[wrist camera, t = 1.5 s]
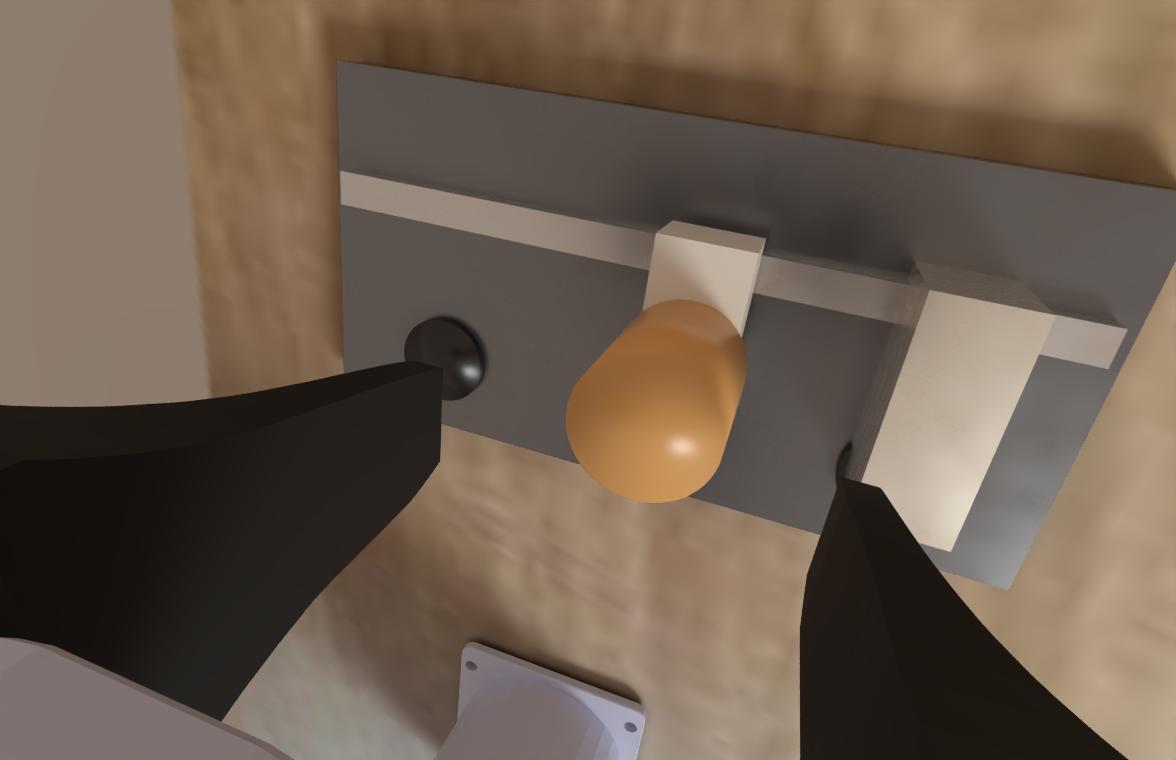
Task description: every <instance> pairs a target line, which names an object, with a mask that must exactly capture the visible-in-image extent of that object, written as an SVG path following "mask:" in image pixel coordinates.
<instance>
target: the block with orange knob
mask: <svg viewBox="0 0 1176 760" xmlns="http://www.w3.org/2000/svg"><path fill="white" fill-rule="evenodd" d="M765 241H766V238H761V237H756V236H751V235H745V234H740V233H735V232H730V231H725V230H720V229H715V228H710V227H704V226H699V225H694V224H689V223H684V222H679V221H674V220H673V221H671V222H670V223H669V224H667V225H666V226H665V227H663V228H662V229H661V230H659V231H658V232H657V233H656V236H655V242H654V247H653V253H652V259H651V265H650V271H649V276H648V282H647V288H646V294H645V299H644V305H643V311H642V312H641V313H640V314H639V315H638V316H637V317H636V318H635V319H634V320H633V321H632V322H631V323H630V324H629V325H628V326H627V327H626V328H625V330H624V331H623V332H622V333H621V334H620V335H619V336H618V337H617V338H616V339H615V341H614V342H613V343H612V344H611V345H610V346H609V347H608V348H607V349H606V350H605V352H604V353H603V354H602V355H601V356H600V357H599V358H598V359H597V360H596V362H595V363H594V364H593V365H592V366H591V367H590V368H589V369H588V370H587V371H586V373H585V374H584V375H583V376H582V377H581V378H580V380H579V381H578V382H577V384H576V385H575V387H574V389H573V390H572V392H571V395H570V397H569V400H568V404H567V409H566V431H567V435H568V440H569V442H570V445H571V448H572V450H573V452H574V454H575V456H576V458H577V459H578V461H579V463H580V464H581V465H582V467H583V468H584V469H585V470H586V472H587V473H588V474H589V475H590V476H591V477H592V478H593V479H594V480H596V481H597V482H598V483H599V484H601V485H602V486H603V487H605V488H607V489H608V490H610V491H611V492H614V493H616V494H618V495H620V496H622V497H625V498H628V499H631V500H635V501H639V502H647V503H663V502H671V501H675V500H679V499H681V498H684V497H687V496H689V495H691V494H692V493H694V492H696V491H697V490H699V489H700V488H701V487H703V486H704V485H705V484H706V483H707V482H708V481H709V480H710V479H711V477H712V476H713V475H714V473H715V472H716V470H717V468H718V466H719V464H720V462H721V459H722V456H723V453H724V449H725V446H726V443H727V440H728V436H729V433H730V430H731V426H732V423H733V420H734V417H735V413H736V410H737V407H738V404H739V400H740V397H741V394H742V391H743V387H744V384H745V381H746V377H747V371H748V358H747V352H746V348H745V344H744V342H743V340H742V336H743V331H744V327H745V323H746V319H747V315H748V311H749V307H750V303H751V299H752V294H753V290H754V286H755V282H756V278H757V274H758V270H759V266H760V261H761V257H762V253H763V249H764V245H765Z"/></svg>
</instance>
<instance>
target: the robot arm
mask: <svg viewBox="0 0 1176 760" xmlns="http://www.w3.org/2000/svg"><path fill="white" fill-rule="evenodd" d="M442 386H443V368H440V367H436V366H432V365H429V364H425V363H421V362H418V361H405V362H397V363H392V364H386V365H381V366H376V367H372V368H367V369H362V370H358V371H354V372H349V373H345V374H340V375H336V376H332V377H327V378H323V379H318V380H314V381H309V382H304V383H299V384H294V385H289V386H284V387H279V388H274V389H269V390H264V391H258V392H253V393H247V394H241V395H234V396H227V397H220V398H212V399H204V400H195V401H186V402H176V403H161V404H160V403H159V404H143V405H127V406H108V407H107V406H106V407H33V406H7V405H0V760H294V759H293V758H291V757H289V756H288V755H286V754H285V753H283V752H282V751H280V750H279V749H277V748H276V747H274V746H273V745H271V744H269V743H267V742H265V741H262V740H260V739H258V738H256V737H254V736H251V735H249V734H247V733H245V732H243V731H240V730H238V729H236V728H234V727H232V726H229V725H227V724H225V723H223V722H221V721H222V720H223V718H224V717H225V716H226V714H227V713H228V711H229V710H230V708H231V707H232V706H233V704H234V703H235V701H236V700H237V699H238V697H239V696H240V694H241V693H242V692H243V690H244V689H245V688H246V686H247V685H248V684H249V682H250V681H251V680H252V678H253V677H254V676H255V674H256V673H257V672H258V670H259V669H260V668H261V666H262V665H263V664H264V662H265V661H266V660H267V658H268V657H269V656H270V655H271V653H272V652H273V651H274V649H275V648H276V647H277V645H278V644H279V643H280V641H281V640H282V639H283V638H284V636H285V635H286V634H287V633H288V631H289V630H290V629H291V628H292V627H293V625H294V624H295V623H296V622H297V620H298V619H299V618H300V617H301V615H302V614H303V613H304V612H305V610H306V609H307V608H308V607H309V605H310V604H311V603H312V602H313V601H314V599H315V598H316V597H317V596H318V595H319V594H320V593H321V592H322V591H323V590H324V588H325V587H326V586H327V585H328V584H329V583H330V582H331V581H332V580H333V579H334V578H335V577H336V576H337V575H338V574H339V573H340V572H341V571H342V570H343V569H344V568H345V567H346V566H347V565H348V564H349V563H350V562H351V561H352V560H353V559H354V558H355V557H356V556H357V555H358V554H359V553H360V552H361V551H362V550H363V549H364V548H365V547H366V546H367V545H368V544H369V543H370V542H371V541H372V540H373V539H374V538H375V537H376V536H377V535H378V534H379V533H380V532H381V531H382V530H383V529H384V528H385V527H386V526H387V525H388V524H389V523H390V522H391V521H392V520H393V519H394V518H395V517H396V516H397V515H398V514H399V513H400V512H401V511H402V510H403V509H404V508H405V507H406V506H407V504H408V503H409V502H410V501H411V500H412V499H413V498H414V496H415V495H416V494H417V492H418V491H419V490H420V489H421V487H422V486H423V485H424V483H425V482H426V480H427V479H428V478H429V476H430V475H431V473H432V472H433V471H434V469H435V468H436V466H437V465H438V463H439V462H440V448H441V417H442ZM646 717H647V712H646V710H645V708H644V707H642V706H641V705H640V704H638V703H636V702H634V701H631V700H628V699H626V698H623V697H620V696H618V695H615V694H612V693H610V692H607V691H604V690H602V689H599V688H596V687H594V686H591V685H588V684H586V683H583V682H580V681H578V680H575V679H572V678H570V677H567V676H564V675H562V674H559V673H556V672H554V671H551V670H548V669H546V668H543V667H540V666H538V665H535V664H532V663H530V662H527V661H524V660H522V659H519V658H516V657H514V656H511V655H508V654H506V653H503V652H500V651H498V650H495V649H492V648H490V647H487V646H484V645H482V644H479V643H476V642H469V643H468V644H466V646H465V647H464V649H463V651H462V657H461V672H460V686H459V701H458V715H457V722H456V724H455V725H454V727H453V729H452V730H451V732H450V734H449V735H448V737H447V739H446V740H445V742H444V744H443V745H442V747H441V749H440V750H439V752H438V754H437V755H436V757H435V759H434V760H636V759H637V755H638V751H639V747H640V742H641V738H642V734H643V730H644V726H645V722H646ZM631 723H633V724H631ZM800 760H1128V759H1127V758H1126V757H1124V756H1123V755H1122V754H1121V753H1119V752H1118V751H1117V750H1116V749H1115V748H1113V747H1112V746H1111V745H1110V744H1108V743H1107V742H1106V741H1105V740H1104V739H1102V738H1101V737H1100V736H1099V735H1098V734H1096V733H1095V732H1094V731H1093V730H1092V729H1091V728H1090V727H1088V726H1087V725H1086V724H1085V723H1084V722H1083V721H1082V720H1081V719H1079V718H1078V717H1077V716H1076V715H1075V714H1074V713H1073V712H1071V711H1070V710H1069V709H1068V708H1067V707H1066V706H1065V705H1063V704H1062V703H1061V702H1060V701H1059V700H1058V699H1057V698H1056V697H1054V696H1053V695H1052V694H1051V693H1050V692H1049V691H1048V690H1047V689H1046V688H1045V687H1044V686H1043V685H1042V684H1041V683H1040V682H1038V681H1037V680H1036V679H1035V678H1034V677H1033V676H1032V675H1031V674H1030V673H1029V672H1028V671H1027V670H1026V669H1025V668H1024V667H1023V666H1022V665H1021V664H1020V663H1019V662H1018V661H1017V660H1016V659H1015V658H1014V657H1013V656H1012V655H1011V654H1010V653H1009V652H1008V650H1007V649H1006V648H1005V647H1004V646H1003V645H1002V644H1001V643H1000V642H999V641H998V640H997V639H996V638H995V637H994V636H993V635H992V634H991V633H990V632H989V631H988V629H987V628H986V627H985V626H984V625H983V624H982V623H981V622H980V621H979V619H978V618H977V617H976V616H975V615H974V614H973V612H972V611H971V610H970V609H969V608H968V606H967V605H966V604H965V603H964V602H963V600H962V599H961V598H960V597H959V596H958V594H957V593H956V592H955V591H954V590H953V588H952V587H951V586H950V585H949V583H948V582H947V581H946V579H945V578H944V577H943V576H942V574H941V573H940V572H939V570H938V569H937V568H936V566H935V565H934V564H933V562H932V561H931V560H930V558H929V557H928V556H927V554H926V553H925V551H924V550H923V549H922V547H921V546H920V544H919V543H918V542H917V540H916V539H915V537H914V536H913V534H912V533H911V531H910V530H909V529H908V527H907V526H906V524H905V523H904V521H903V520H902V518H901V517H900V515H899V514H898V512H897V511H896V509H895V508H894V506H893V505H892V503H891V502H890V500H889V499H888V497H887V496H886V494H885V493H884V492H883V490H882V489H881V488H880V487H877V486H873V485H869V484H866V483H862V482H858V481H855V480H851V479H847V478H844V477H840V480H839V483H838V486H837V489H836V492H835V495H834V498H833V501H832V504H831V507H830V509H829V512H828V515H827V518H826V521H825V524H824V527H823V530H822V533H821V536H820V539H819V541H818V544H817V547H816V550H815V553H814V556H813V559H812V562H811V565H810V568H809V571H808V573H807V578H806V586H805V593H804V600H803V608H802V616H801V624H800Z"/></svg>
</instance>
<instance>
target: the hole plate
mask: <svg viewBox="0 0 1176 760" xmlns="http://www.w3.org/2000/svg"><path fill="white" fill-rule="evenodd" d="M336 72H337V113H338V153H339V194H340V234H341V275H342V316H343V356H344V374H345V373H349V372H354V371H358V370H362V369H367V368H372V367H376V366H381V365H386V364H392V363H397V362H405V361H418V362H421V363H425V364H429V365H432V366H436V367H440V368H443V386H442V417H441V424H444V425H448V426H451V427H454V428H458V429H461V430H465V431H468V432H471V433H475V434H478V435H482V436H485V437H488V438H492V439H495V440H499V441H502V442H505V443H509V444H512V445H516V446H519V447H522V448H526V449H529V450H533V451H536V452H540V453H543V454H546V455H550V456H553V457H557V458H560V459H563V460H567V461H570V462H574V463H577V464H580V463H579V461H578V459H577V458H576V456H575V454H574V452H573V450H572V448H571V445H570V442H569V440H568V435H567V431H566V409H567V404H568V400H569V397H570V395H571V392H572V390H573V389H574V387H575V385H576V384H577V382H578V381H579V380H580V378H581V377H582V376H583V375H584V374H585V373H586V371H587V370H588V369H589V368H590V367H591V366H592V365H593V364H594V363H595V362H596V360H597V359H598V358H599V357H600V356H601V355H602V354H603V353H604V352H605V350H606V349H607V348H608V347H609V346H610V345H611V344H612V343H613V342H614V341H615V339H616V338H617V337H618V336H619V335H620V334H621V333H622V332H623V331H624V330H625V328H626V327H627V326H628V325H629V324H630V323H631V322H632V321H633V320H634V319H635V318H636V317H637V316H638V315H639V314H640V313H641V312H642V311H643V305H644V299H645V294H646V288H647V282H648V276H649V271H650V265H651V259H652V253H653V247H654V242H655V236H656V233H657V232H658V231H659V230H661V229H662V228H663V227H665V226H666V225H667V224H669V223H670V222H671V221H673V220H674V221H679V222H684V223H689V224H694V225H699V226H704V227H710V228H715V229H720V230H725V231H730V232H735V233H740V234H745V235H751V236H756V237H761V238H766V241H765V245H764V249H763V253H762V257H761V261H760V266H759V270H758V274H757V278H756V282H755V286H754V290H753V294H752V299H751V303H750V307H749V311H748V315H747V319H746V323H745V327H744V331H743V336H742V340H743V342H744V344H745V348H746V352H747V358H748V371H747V377H746V381H745V384H744V387H743V391H742V394H741V397H740V400H739V404H738V407H737V410H736V413H735V417H734V420H733V423H732V426H731V430H730V433H729V436H728V440H727V443H726V446H725V449H724V453H723V456H722V459H721V462H720V464H719V466H718V468H717V470H716V472H715V473H714V475H713V476H712V477H711V479H710V480H709V481H708V482H707V483H706V484H705V485H704V486H703V487H701V488H700V489H699V490H697V491H696V492H694V493H692V494H691V495H689V497H693V498H696V499H700V500H703V501H707V502H710V503H713V504H717V505H720V506H724V507H727V508H730V509H734V510H737V511H741V512H744V513H747V514H751V515H754V516H758V517H761V518H764V519H768V520H771V521H775V522H778V523H781V524H785V525H788V526H792V527H795V528H799V529H802V530H805V531H809V532H812V533H816V534H819V535H821V533H822V530H823V527H824V524H825V521H826V518H827V515H828V512H829V509H830V507H831V504H832V501H833V498H834V495H835V492H836V489H837V486H838V483H839V480H840V477H844V478H847V479H851V480H855V481H858V482H862V483H866V484H869V485H873V486H877V487H880V488H881V489H882V490H883V492H884V493H885V494H886V496H887V497H888V499H889V500H890V502H891V503H892V505H893V506H894V508H895V509H896V511H897V512H898V514H899V515H900V517H901V518H902V520H903V521H904V523H905V524H906V526H907V527H908V529H909V530H910V531H911V533H912V534H913V536H914V537H915V539H916V540H917V542H918V543H919V544H920V546H921V547H922V549H923V550H924V551H925V553H926V554H927V556H928V557H929V558H930V560H931V561H932V562H933V564H934V565H935V566H936V568H937V569H938V570H942V571H945V572H948V573H952V574H955V575H959V576H962V577H966V578H969V579H972V580H976V581H979V582H983V583H986V584H989V585H993V586H996V587H1000V588H1003V589H1006V590H1009V589H1010V587H1011V585H1012V583H1013V581H1014V579H1015V577H1016V575H1017V573H1018V571H1019V569H1020V567H1021V565H1022V563H1023V561H1024V559H1025V557H1026V555H1027V553H1028V551H1029V549H1030V547H1031V545H1032V543H1033V541H1034V539H1035V537H1036V535H1037V533H1038V531H1039V529H1040V527H1041V525H1042V523H1043V521H1044V519H1045V518H1046V516H1047V514H1048V512H1049V510H1050V508H1051V506H1052V504H1053V502H1054V500H1055V498H1056V496H1057V494H1058V492H1059V490H1060V488H1061V486H1062V484H1063V482H1064V480H1065V478H1066V476H1067V474H1068V472H1069V470H1070V468H1071V466H1072V464H1073V462H1074V460H1075V458H1076V456H1077V454H1078V452H1079V450H1080V448H1081V447H1082V445H1083V443H1084V441H1085V439H1086V437H1087V435H1088V433H1089V431H1090V429H1091V427H1092V425H1093V423H1094V421H1095V419H1096V417H1097V415H1098V413H1099V411H1100V409H1101V407H1102V405H1103V403H1104V401H1105V399H1106V397H1107V395H1108V393H1109V391H1110V389H1111V387H1112V385H1113V383H1114V381H1115V379H1116V377H1117V376H1118V374H1119V372H1120V370H1121V368H1122V366H1123V364H1124V362H1125V360H1126V358H1127V356H1128V354H1129V352H1130V350H1131V348H1132V346H1133V344H1134V342H1135V340H1136V338H1137V336H1138V334H1139V332H1140V330H1141V328H1142V326H1143V324H1144V322H1145V320H1146V318H1147V316H1148V314H1149V312H1150V310H1151V308H1152V306H1153V304H1154V303H1155V301H1156V299H1157V297H1158V295H1159V293H1160V291H1161V289H1162V287H1163V285H1164V283H1165V281H1166V279H1167V277H1168V275H1169V273H1170V271H1171V269H1172V267H1173V265H1174V263H1175V261H1176V189H1174V188H1168V187H1161V186H1155V185H1149V184H1142V183H1136V182H1129V181H1123V180H1116V179H1110V178H1103V177H1097V176H1090V175H1084V174H1078V173H1071V172H1065V171H1058V170H1052V169H1045V168H1039V167H1032V166H1026V165H1020V164H1013V163H1007V162H1000V161H994V160H987V159H981V158H974V157H968V156H962V155H955V154H949V153H942V152H936V151H929V150H923V149H916V148H910V147H904V146H897V145H891V144H884V143H878V142H871V141H865V140H858V139H852V138H846V137H839V136H833V135H826V134H820V133H813V132H807V131H800V130H794V129H788V128H781V127H775V126H768V125H762V124H755V123H749V122H742V121H736V120H729V119H723V118H717V117H710V116H704V115H697V114H691V113H684V112H678V111H671V110H665V109H659V108H652V107H646V106H639V105H633V104H626V103H620V102H613V101H607V100H601V99H594V98H588V97H581V96H575V95H568V94H562V93H555V92H549V91H543V90H536V89H530V88H523V87H517V86H510V85H504V84H497V83H491V82H485V81H478V80H472V79H465V78H459V77H452V76H446V75H439V74H433V73H427V72H420V71H414V70H407V69H401V68H394V67H388V66H381V65H375V64H368V63H362V62H351V61H339V60H336ZM580 465H581V464H580Z"/></svg>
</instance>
